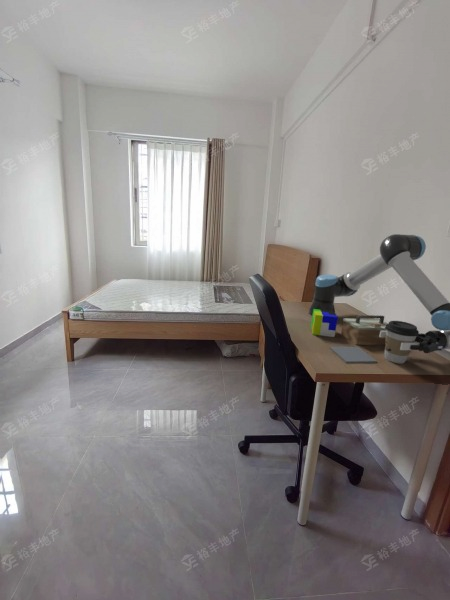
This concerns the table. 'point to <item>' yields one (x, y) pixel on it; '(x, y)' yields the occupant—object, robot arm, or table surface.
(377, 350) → the table surface
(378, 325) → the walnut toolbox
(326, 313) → the puzzle toy
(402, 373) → the table surface
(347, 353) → the slate mat
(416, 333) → the coffee cup
